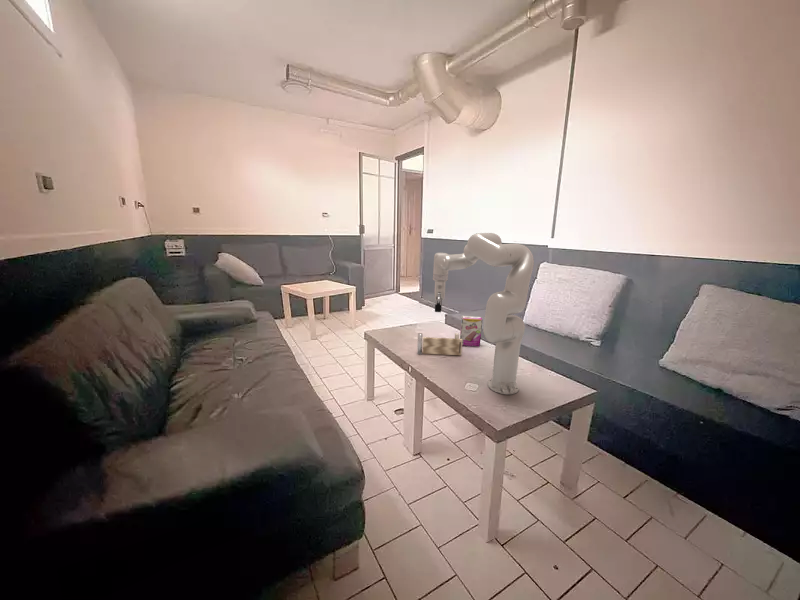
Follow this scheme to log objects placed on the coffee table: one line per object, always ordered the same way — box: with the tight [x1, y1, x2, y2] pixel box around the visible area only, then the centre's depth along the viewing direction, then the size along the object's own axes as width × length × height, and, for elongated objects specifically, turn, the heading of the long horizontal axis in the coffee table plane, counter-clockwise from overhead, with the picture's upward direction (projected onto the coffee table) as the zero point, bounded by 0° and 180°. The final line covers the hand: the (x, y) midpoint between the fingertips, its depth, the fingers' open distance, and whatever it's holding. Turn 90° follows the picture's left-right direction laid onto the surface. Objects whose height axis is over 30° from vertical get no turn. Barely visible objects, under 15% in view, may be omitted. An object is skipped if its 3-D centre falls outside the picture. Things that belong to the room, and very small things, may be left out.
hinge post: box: [416, 332, 424, 356], centre depth 164 cm, size 2×2×11 cm
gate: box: [422, 336, 463, 356], centre depth 163 cm, size 20×2×8 cm, turn 86°
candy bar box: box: [459, 315, 484, 347], centre depth 176 cm, size 11×5×16 cm, turn 84°
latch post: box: [454, 332, 460, 339], centre depth 165 cm, size 2×2×11 cm
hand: (438, 309), depth 166 cm, fingers open, 9 cm apart
